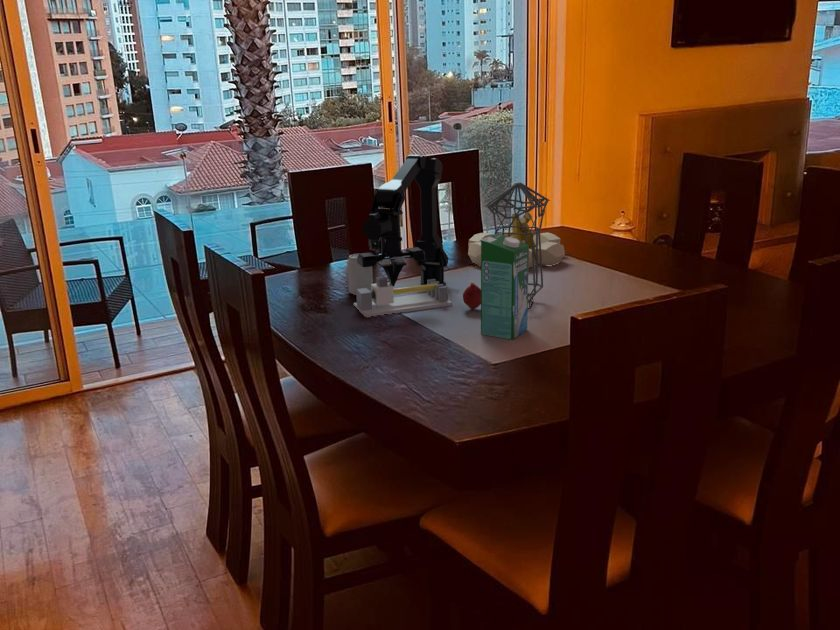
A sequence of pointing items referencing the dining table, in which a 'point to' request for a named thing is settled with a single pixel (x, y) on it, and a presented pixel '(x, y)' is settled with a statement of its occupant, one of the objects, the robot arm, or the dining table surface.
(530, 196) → the geometric lantern
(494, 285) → the milk carton
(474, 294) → the onion
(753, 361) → the dining table surface
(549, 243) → the campfire
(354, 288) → the can
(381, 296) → the sleeve
